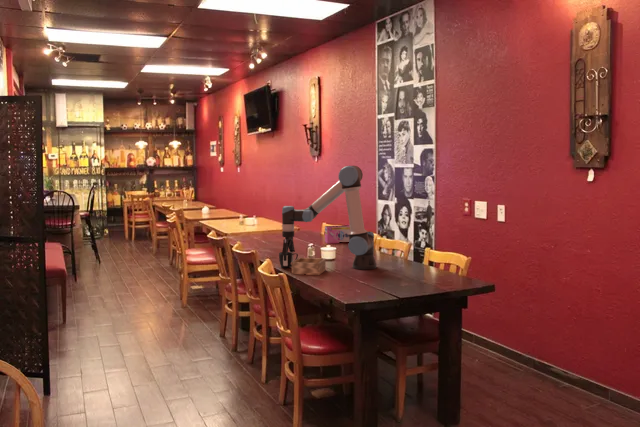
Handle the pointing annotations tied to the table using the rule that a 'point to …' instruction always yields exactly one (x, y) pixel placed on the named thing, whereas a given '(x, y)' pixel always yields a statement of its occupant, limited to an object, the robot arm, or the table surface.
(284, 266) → the mug
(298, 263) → the open wooden box
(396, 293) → the table surface
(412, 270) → the table surface
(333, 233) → the gum box
